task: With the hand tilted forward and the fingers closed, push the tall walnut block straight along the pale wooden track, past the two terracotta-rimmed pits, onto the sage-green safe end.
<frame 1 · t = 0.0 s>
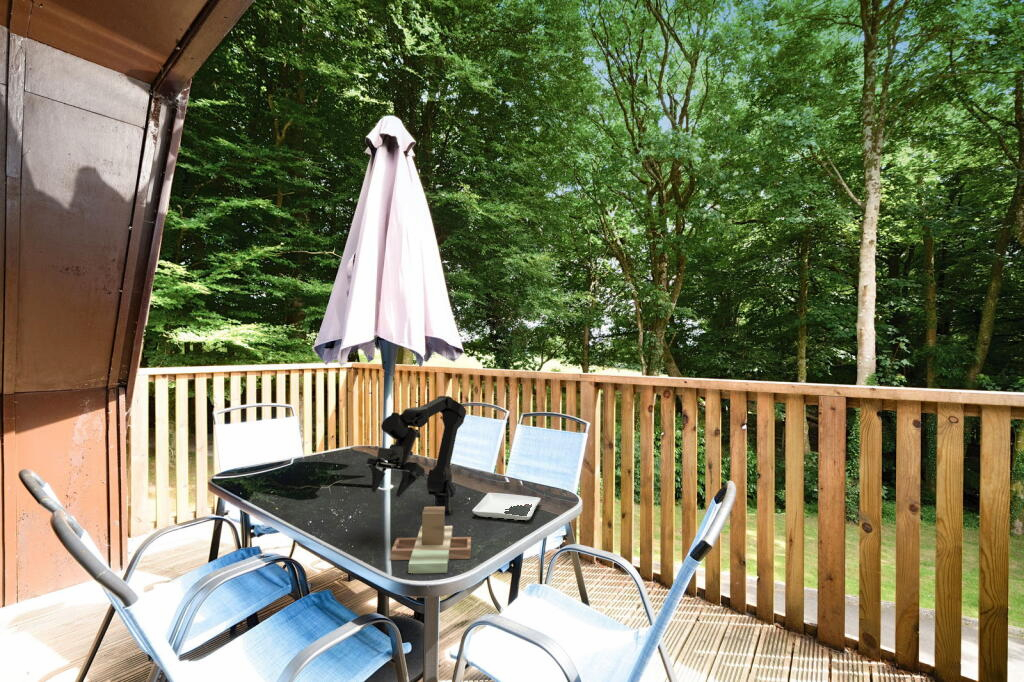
hand: (385, 494, 139), 15 cm above the table, tool tilted 35°, fingers open, 9 cm apart
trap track: (432, 551, 134), on the table
salad plate: (507, 513, 168), on the table
walnut block: (433, 540, 135), point 2 cm above the table, touching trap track
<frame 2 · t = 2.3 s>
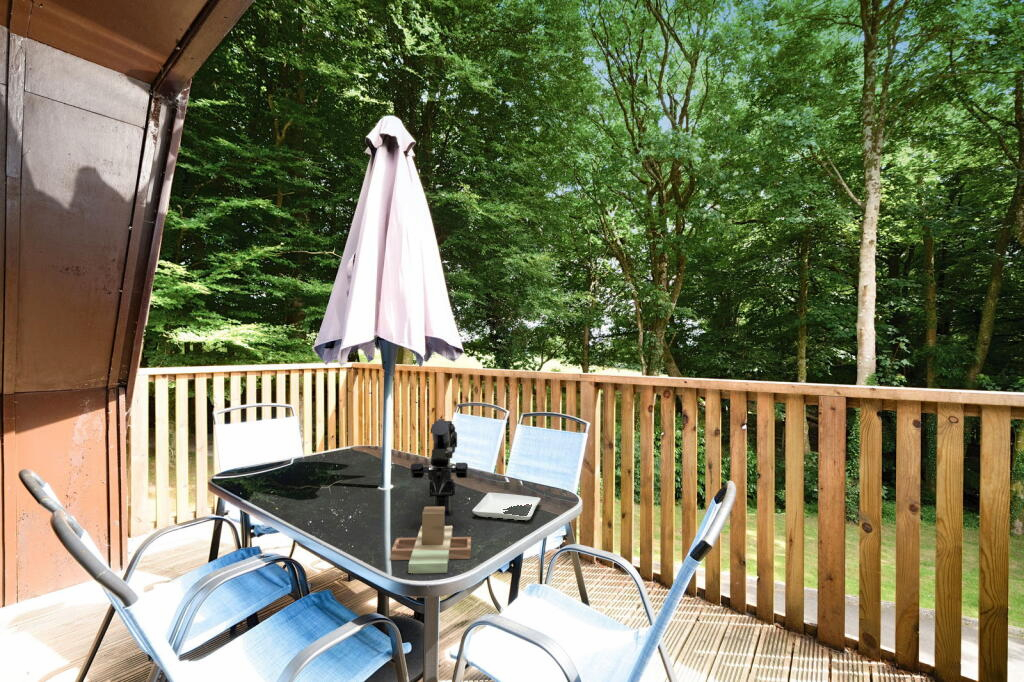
hand: (437, 493, 148), 12 cm above the table, tool tilted 45°, fingers closed
nothing on the table moved.
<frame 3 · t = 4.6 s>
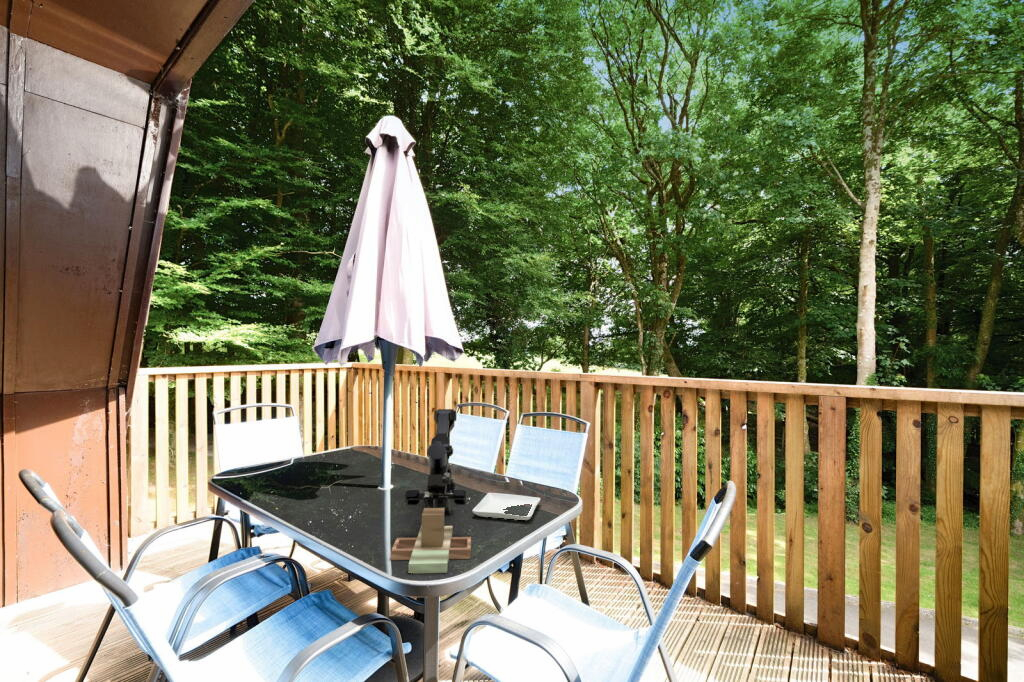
hand: (434, 523, 137), 7 cm above the table, tool tilted 45°, fingers closed
walnut block: (432, 542, 134), point 3 cm above the table
everything else where it was.
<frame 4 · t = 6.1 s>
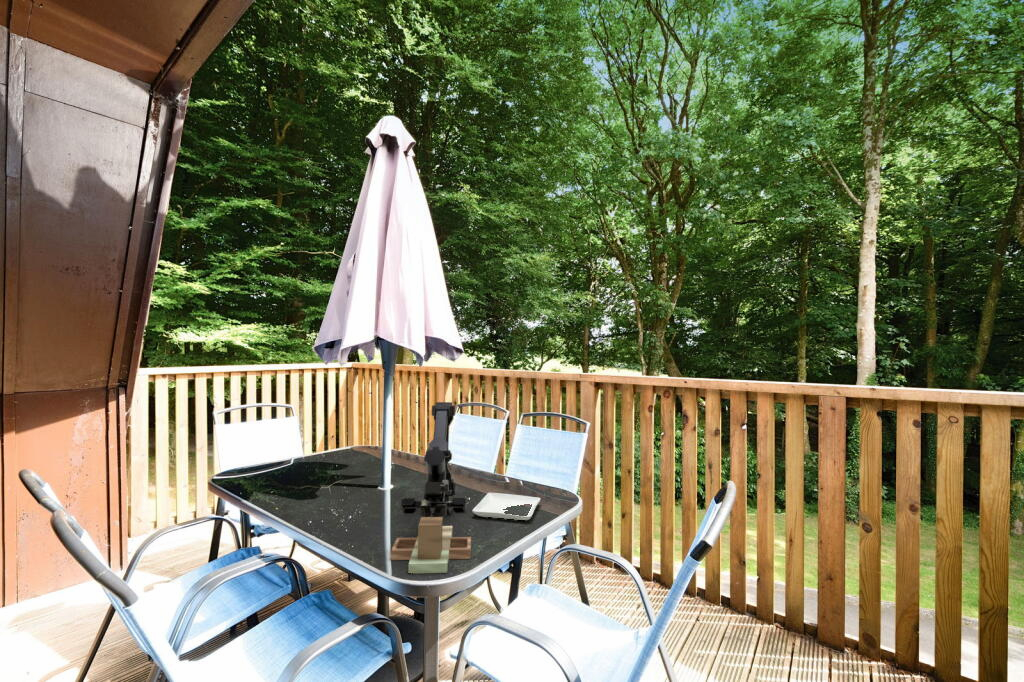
hand: (431, 533, 130), 7 cm above the table, tool tilted 45°, fingers closed
walnut block: (430, 553, 127), point 2 cm above the table, touching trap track
everything else where it was.
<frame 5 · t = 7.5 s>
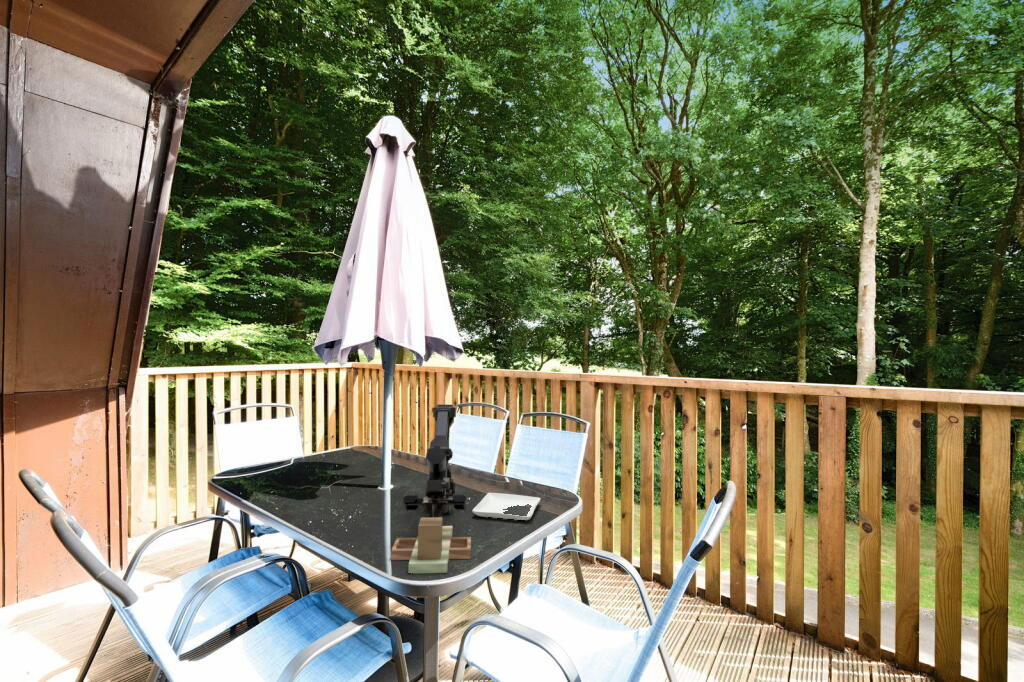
hand: (433, 529, 135), 6 cm above the table, tool tilted 45°, fingers closed
nothing on the table moved.
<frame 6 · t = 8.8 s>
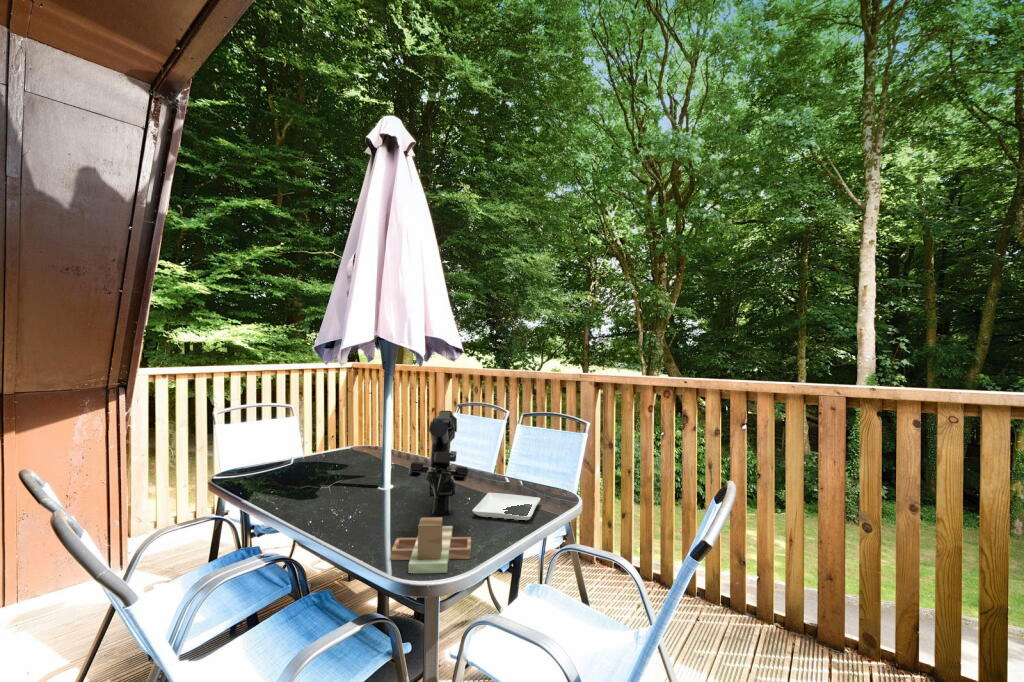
hand: (436, 497, 145), 12 cm above the table, tool tilted 40°, fingers closed
nothing on the table moved.
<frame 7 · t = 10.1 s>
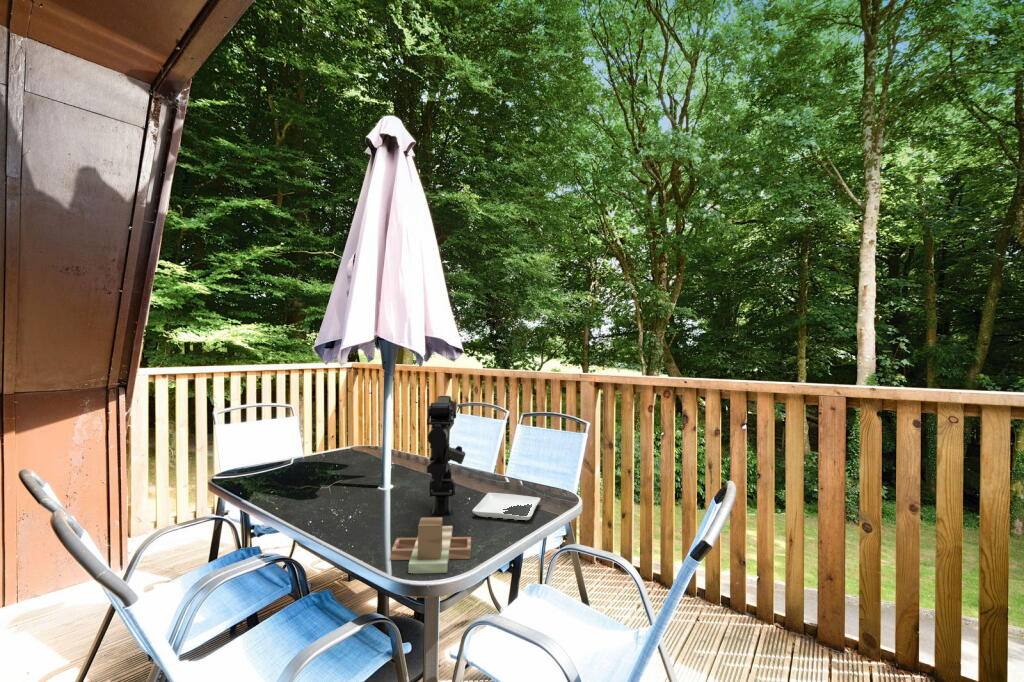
hand: (438, 488, 152), 13 cm above the table, tool pointing down, fingers closed
nothing on the table moved.
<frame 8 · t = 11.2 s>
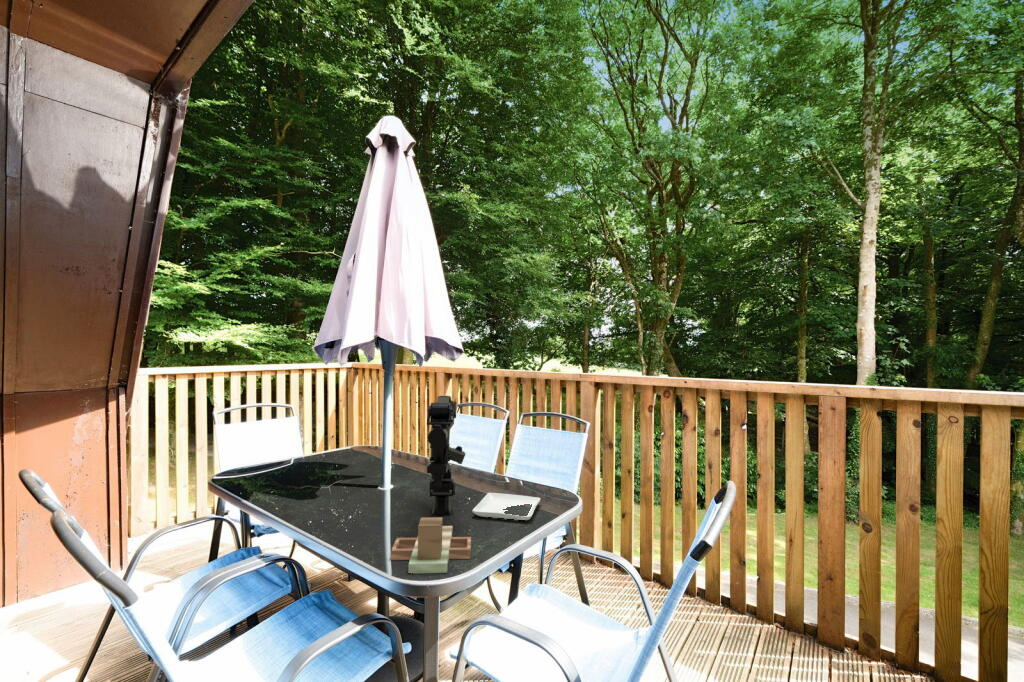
hand: (438, 488, 152), 13 cm above the table, tool pointing down, fingers closed
nothing on the table moved.
at the end: walnut block 0.9 cm from the target spot, point 2.5 cm above the table; walnut block tilted 0° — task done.
